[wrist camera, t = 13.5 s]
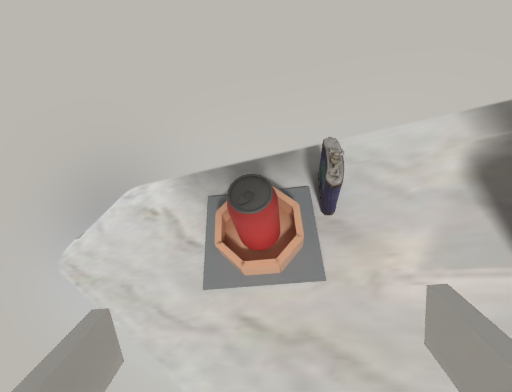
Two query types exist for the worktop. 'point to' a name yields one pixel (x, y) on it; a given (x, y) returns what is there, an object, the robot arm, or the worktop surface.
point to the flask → (330, 174)
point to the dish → (265, 259)
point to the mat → (298, 270)
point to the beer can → (254, 211)
